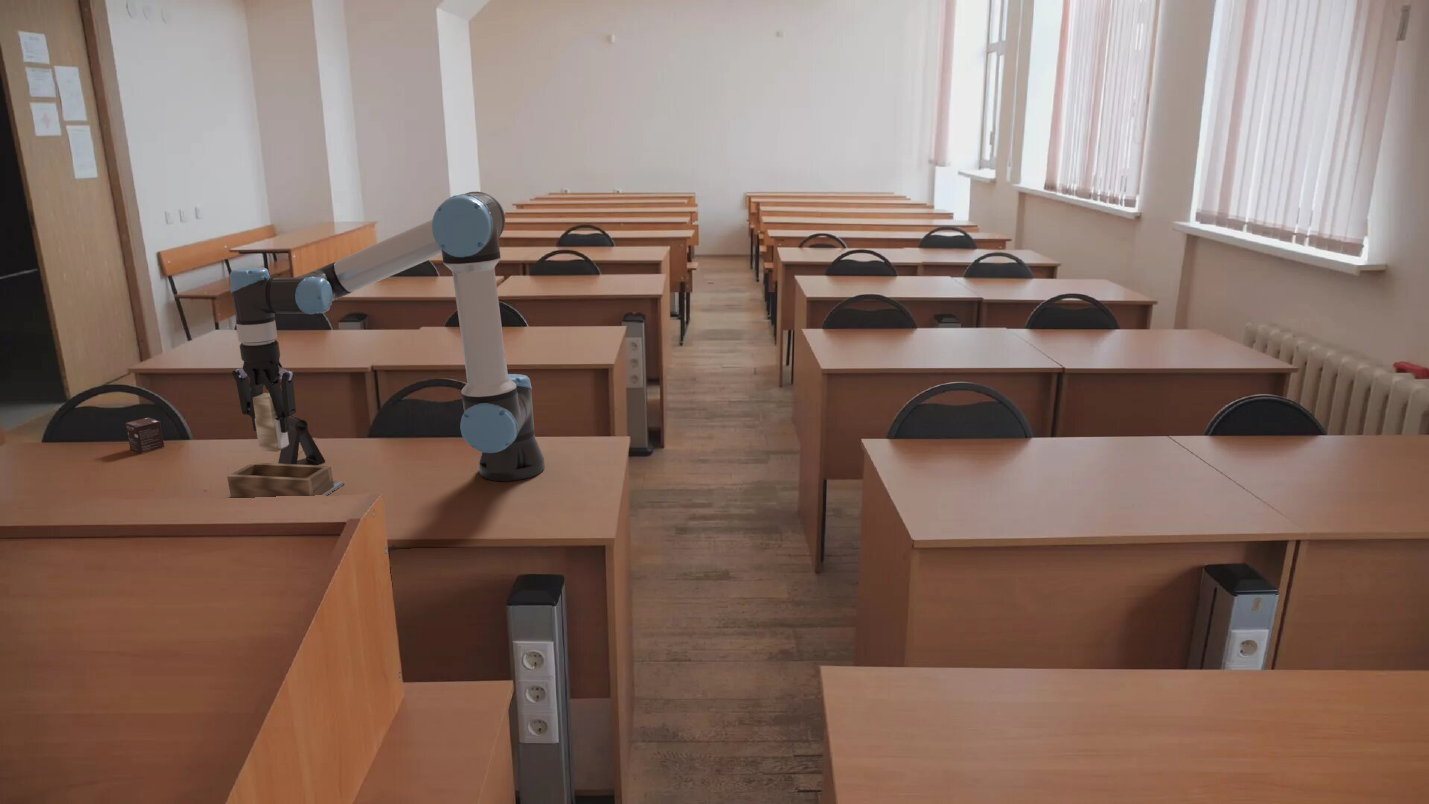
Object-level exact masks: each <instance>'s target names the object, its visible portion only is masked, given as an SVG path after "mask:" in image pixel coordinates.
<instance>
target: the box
mask: <svg viewBox="0 0 1429 804" xmlns="http://www.w3.org/2000/svg"><path fill="white" fill-rule="evenodd" d="M125 429H126V434H127V439H128V444H129V449H130V450H131V451H133V452H135V453H139V454H146V453H148V452H151V451H157V450H160V449H164V448H165V443H164V436H163V431H162V425H161V421H160V420H157V419H155V418H151V417H149V416H147V417H144V418H141V419H137V420H131V421H129V422H125ZM156 449H157V450H156ZM145 452H146V453H145Z"/></svg>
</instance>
